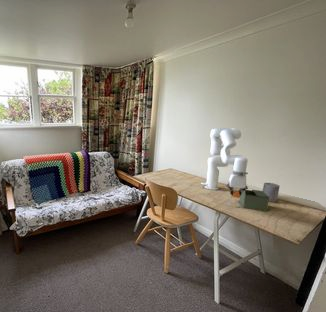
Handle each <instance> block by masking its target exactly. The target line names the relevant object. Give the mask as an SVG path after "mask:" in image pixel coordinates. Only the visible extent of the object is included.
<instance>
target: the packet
mask: <svg viewBox="0 0 326 312" xmlns="http://www.w3.org/2000/svg"><path fill="white" fill-rule="evenodd" d="M233 191H234V192H233V196H232V198H238V199H240V194H239V193H238V192H239V191H235V190H233Z"/></svg>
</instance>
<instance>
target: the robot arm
mask: <svg viewBox="0 0 326 312" xmlns="http://www.w3.org/2000/svg"><path fill="white" fill-rule="evenodd" d="M209 136H210V140H211V141H210V152H209V153H210V155H211V156H210V157H208V158H207V174H206V181H205V182H200V185H202V186H203V187H204V188H205V189H207V190H211V191H217V190H218V191H219V189H220V187H219V186H218V185H219V175H220V170H219V168H226V167H228V166H229V165H233V168H232V169H233V170H232V173H231V174H230V176H229V180H228V183H226V184H225V186H226V188H228V189H229V190H230V195H231V196H232V197H233V192H234V191H235V190H234V189H239V190H238V191H237V192H238V193H239V194H240V195H241V194H242V192H243V191H244V190H249V187H248V186H247V175H248V174H249V173H248V172H247V166H248V161H249V160H248V158H247V157H244V156H243V155H241V154H231V149H233V148H235V147H236V146H237V142H236V140H239V139H241V137H242V132H241V130H239V129H237V128H233V127H215V128H212V129H211V130H210V133H209ZM222 144H223V145H222Z"/></svg>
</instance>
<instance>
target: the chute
mask: <svg viewBox="0 0 326 312" xmlns="http://www.w3.org/2000/svg"><path fill="white" fill-rule="evenodd" d="M238 202H239V203H240V205H241V206H242V207H243V208H244V209H250V210H256V211H257V210H258V211H264V212H267V211H268V207H269V203H270V202H269V196H268V195H267V194H265V193H264V192H263V190H258V189H251V190H249V189H246V194H245V193H244V192H242V194H241V195H240V198H239V200H238Z"/></svg>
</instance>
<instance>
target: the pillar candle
mask: <svg viewBox="0 0 326 312" xmlns="http://www.w3.org/2000/svg"><path fill="white" fill-rule="evenodd" d="M280 187H281V185H279V184H277V183H274V182H264V183H263V188H262V191H263V192H264V193H265V194H267V195H268V196H269V202H268V203H276V202H277V201H278V197H279V191H280Z"/></svg>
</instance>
